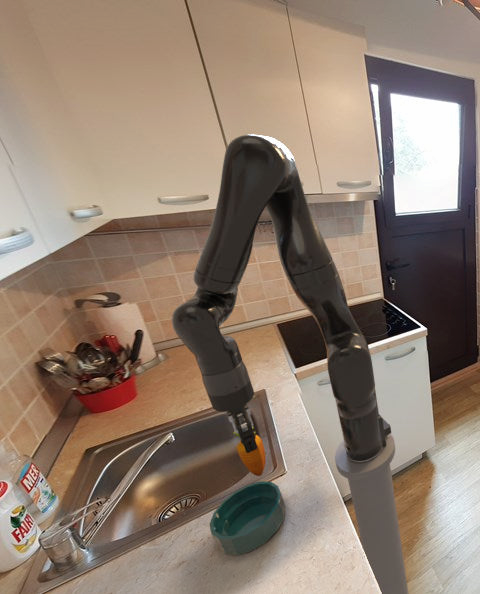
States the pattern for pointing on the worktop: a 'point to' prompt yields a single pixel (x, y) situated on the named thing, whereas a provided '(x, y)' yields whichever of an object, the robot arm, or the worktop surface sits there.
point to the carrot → (253, 456)
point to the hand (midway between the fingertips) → (249, 443)
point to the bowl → (248, 518)
